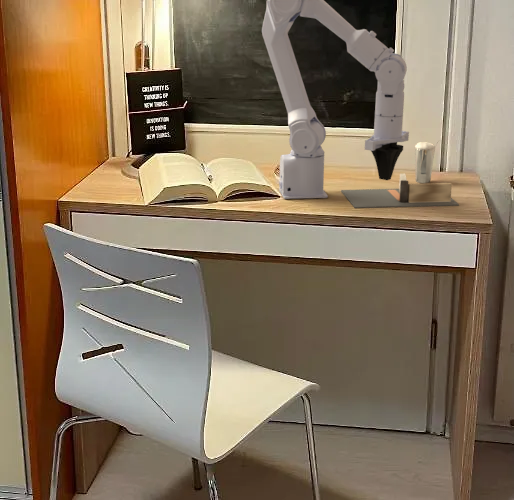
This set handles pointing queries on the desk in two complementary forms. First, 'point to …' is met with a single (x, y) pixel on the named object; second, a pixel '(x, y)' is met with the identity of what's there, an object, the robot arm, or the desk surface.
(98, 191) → the desk surface
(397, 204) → the card
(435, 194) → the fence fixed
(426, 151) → the milkshake
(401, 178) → the fence gate
